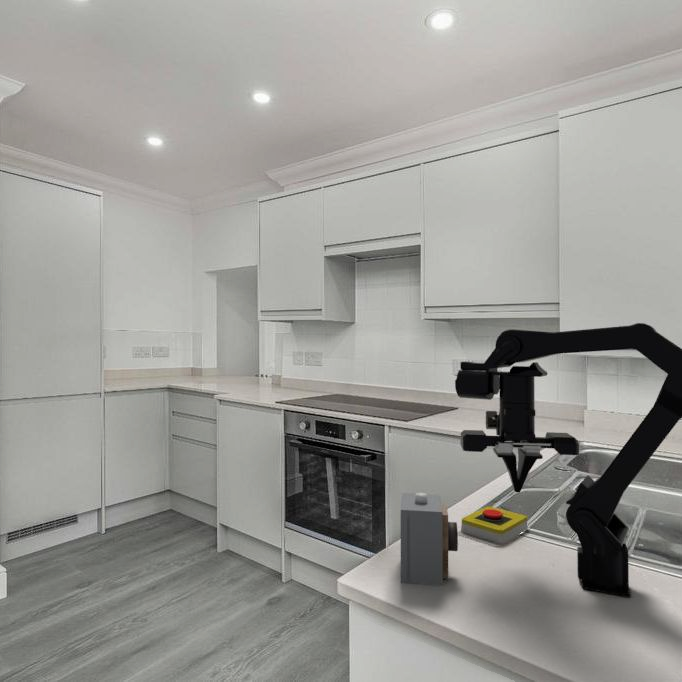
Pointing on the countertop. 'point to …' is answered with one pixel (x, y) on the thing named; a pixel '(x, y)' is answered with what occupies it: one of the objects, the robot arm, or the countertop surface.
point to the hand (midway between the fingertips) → (517, 491)
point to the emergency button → (493, 526)
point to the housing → (421, 539)
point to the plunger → (448, 539)
